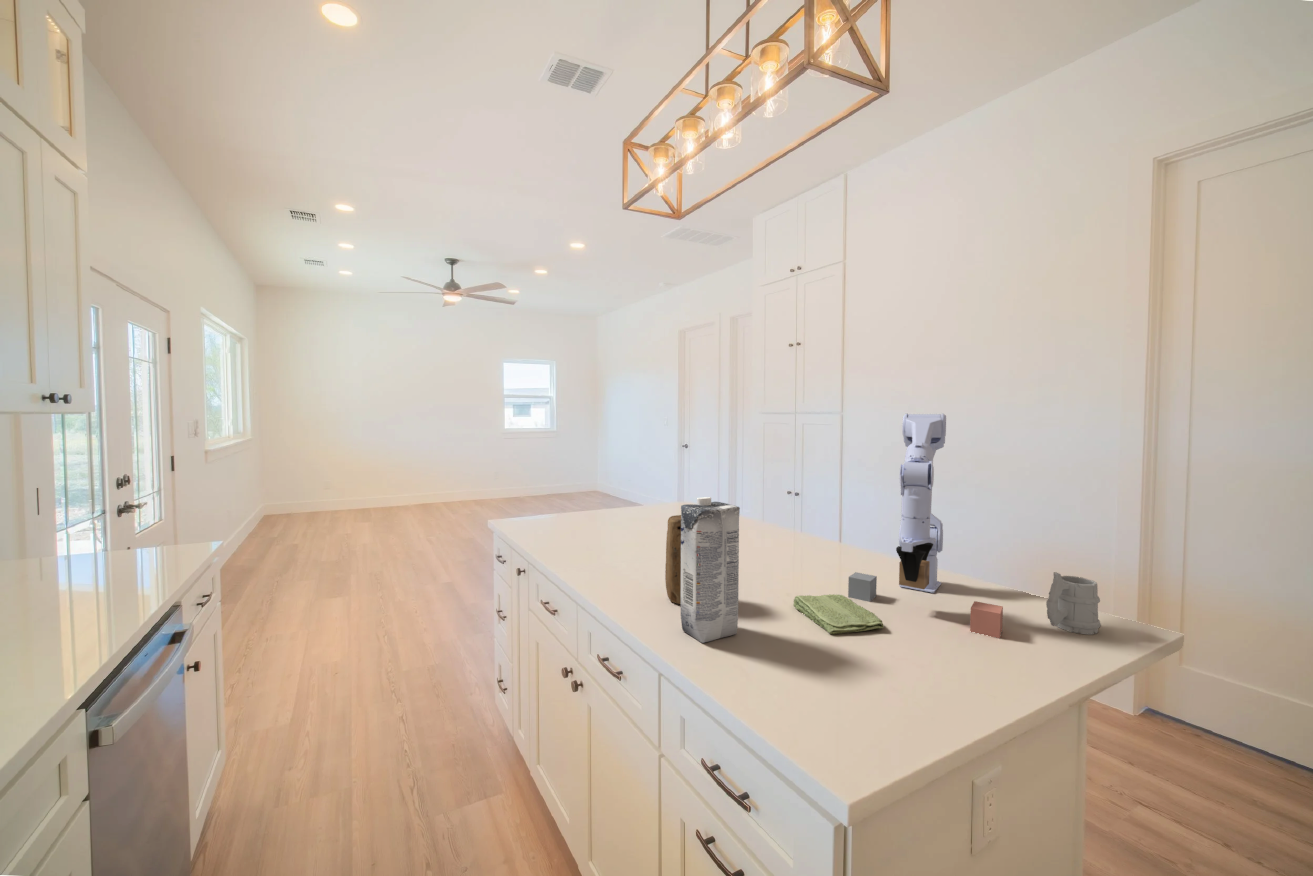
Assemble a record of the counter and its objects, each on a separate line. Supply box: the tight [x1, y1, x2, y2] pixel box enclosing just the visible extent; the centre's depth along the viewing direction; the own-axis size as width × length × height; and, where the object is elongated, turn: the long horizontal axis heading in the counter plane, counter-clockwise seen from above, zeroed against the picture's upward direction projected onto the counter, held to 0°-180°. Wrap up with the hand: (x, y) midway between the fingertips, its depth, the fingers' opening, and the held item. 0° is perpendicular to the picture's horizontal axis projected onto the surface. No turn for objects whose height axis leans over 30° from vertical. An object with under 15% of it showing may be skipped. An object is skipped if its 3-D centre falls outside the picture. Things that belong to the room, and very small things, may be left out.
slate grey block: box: [847, 571, 878, 603], centre depth 126 cm, size 5×5×5 cm
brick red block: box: [969, 600, 1004, 639], centre depth 106 cm, size 5×5×5 cm
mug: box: [1045, 571, 1102, 635], centre depth 107 cm, size 8×12×12 cm, turn 108°
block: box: [664, 514, 681, 605], centre depth 123 cm, size 11×8×20 cm
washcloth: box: [793, 593, 885, 635], centre depth 113 cm, size 13×18×3 cm
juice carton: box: [680, 496, 741, 644], centre depth 104 cm, size 9×10×27 cm
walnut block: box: [898, 560, 930, 589], centre depth 116 cm, size 5×5×5 cm
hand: (914, 577), depth 116 cm, fingers closed on walnut block, 5 cm apart
